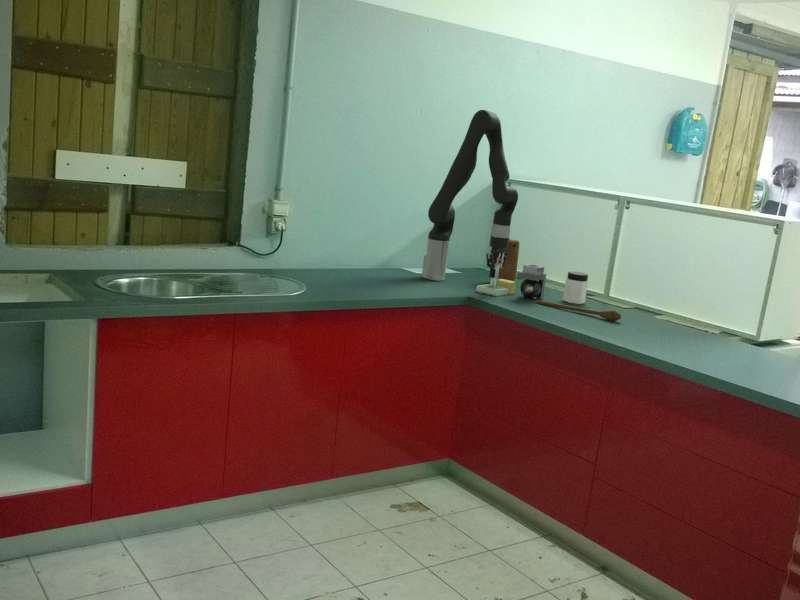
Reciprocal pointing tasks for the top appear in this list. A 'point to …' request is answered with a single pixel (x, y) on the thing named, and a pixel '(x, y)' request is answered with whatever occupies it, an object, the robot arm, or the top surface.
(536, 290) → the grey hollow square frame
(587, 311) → the brown wooden spoon
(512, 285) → the block
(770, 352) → the top surface
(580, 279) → the jar
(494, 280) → the pin
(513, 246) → the block
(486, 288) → the tray
